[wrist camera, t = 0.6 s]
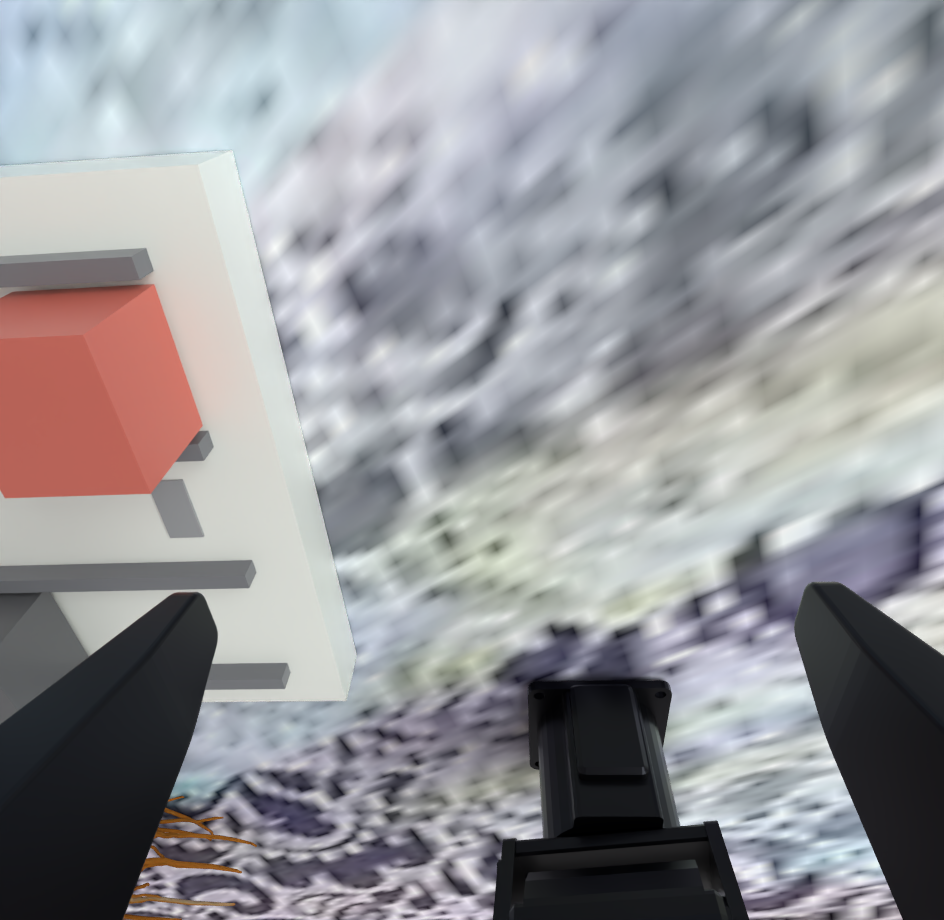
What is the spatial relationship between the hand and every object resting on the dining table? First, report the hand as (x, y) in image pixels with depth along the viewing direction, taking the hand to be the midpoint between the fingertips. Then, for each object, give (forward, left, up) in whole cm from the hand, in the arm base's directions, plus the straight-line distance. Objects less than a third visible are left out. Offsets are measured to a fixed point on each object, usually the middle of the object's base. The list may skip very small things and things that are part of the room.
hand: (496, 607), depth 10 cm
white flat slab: (-3, +15, -12) cm, 20 cm away
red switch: (0, +11, -10) cm, 15 cm away
